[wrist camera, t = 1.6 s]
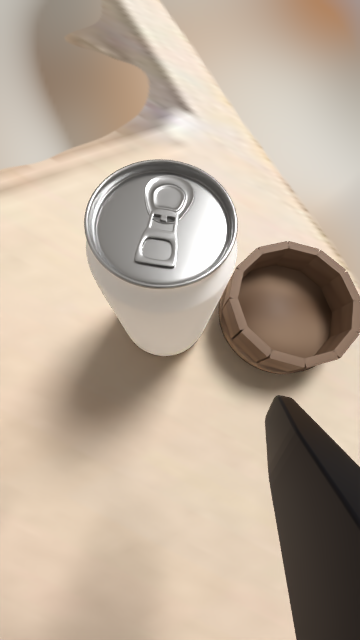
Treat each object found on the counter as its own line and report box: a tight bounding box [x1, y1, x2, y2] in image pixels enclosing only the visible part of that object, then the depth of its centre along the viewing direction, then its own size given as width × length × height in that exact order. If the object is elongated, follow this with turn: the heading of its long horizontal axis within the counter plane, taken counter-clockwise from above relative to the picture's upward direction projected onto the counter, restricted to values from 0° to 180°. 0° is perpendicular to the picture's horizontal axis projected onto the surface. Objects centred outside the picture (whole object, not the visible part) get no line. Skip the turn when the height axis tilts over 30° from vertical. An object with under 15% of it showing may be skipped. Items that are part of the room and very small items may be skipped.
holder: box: [219, 241, 360, 374], centre depth 20 cm, size 10×10×4 cm
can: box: [84, 160, 238, 356], centre depth 15 cm, size 6×6×12 cm
